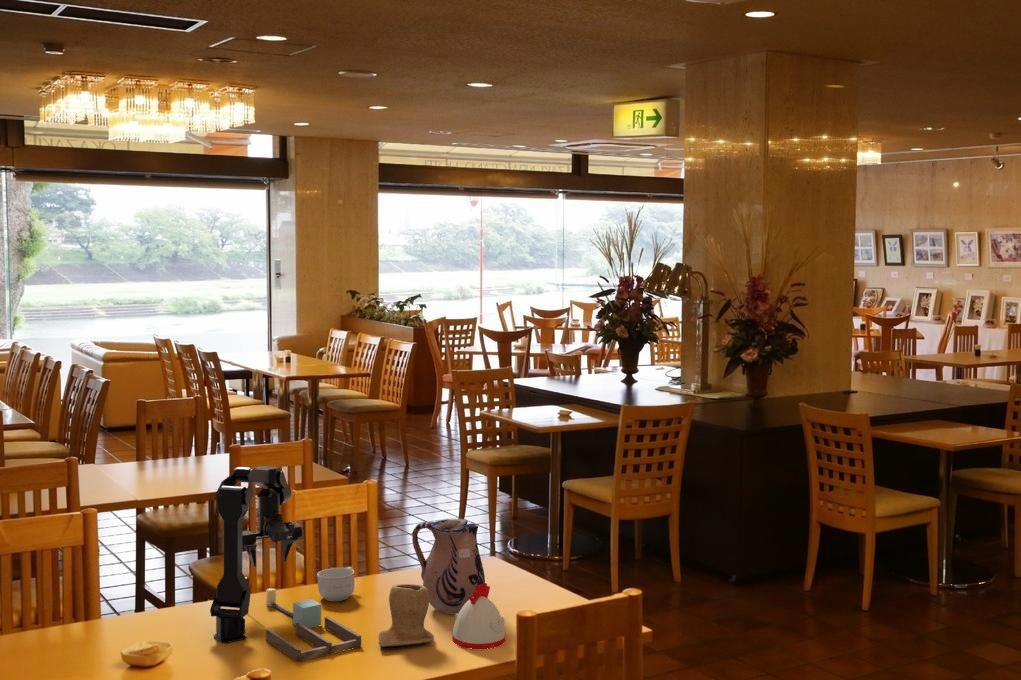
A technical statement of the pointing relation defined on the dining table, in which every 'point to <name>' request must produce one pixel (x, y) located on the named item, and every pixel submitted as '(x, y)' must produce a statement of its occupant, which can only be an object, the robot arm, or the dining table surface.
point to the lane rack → (315, 641)
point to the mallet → (298, 610)
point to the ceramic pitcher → (450, 563)
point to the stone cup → (407, 616)
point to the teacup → (336, 583)
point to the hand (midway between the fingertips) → (269, 563)
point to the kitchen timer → (479, 622)
